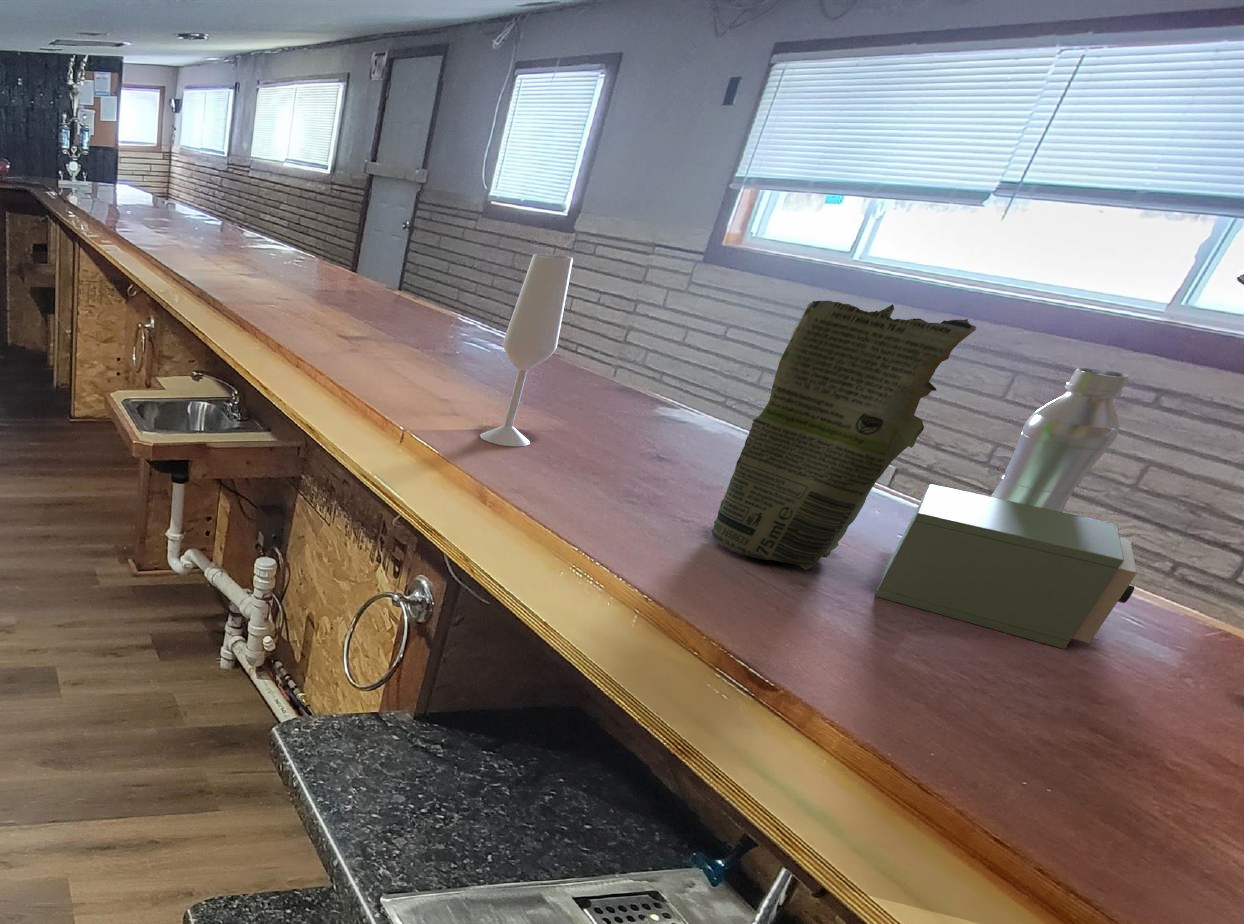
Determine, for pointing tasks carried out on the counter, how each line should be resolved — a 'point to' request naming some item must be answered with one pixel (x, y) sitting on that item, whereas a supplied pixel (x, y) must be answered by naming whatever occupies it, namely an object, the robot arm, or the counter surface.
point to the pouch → (830, 429)
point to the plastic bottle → (1063, 441)
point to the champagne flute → (533, 331)
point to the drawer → (1110, 594)
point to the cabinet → (1002, 564)
